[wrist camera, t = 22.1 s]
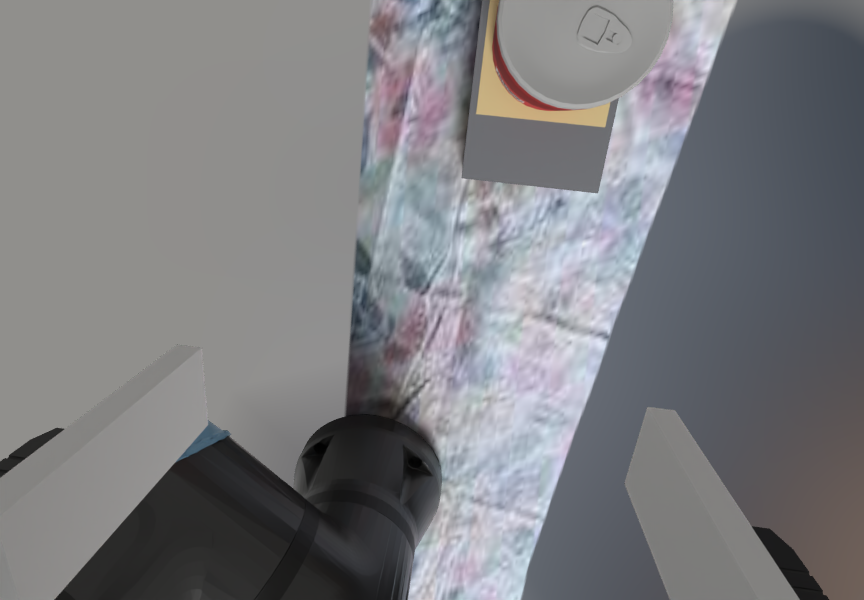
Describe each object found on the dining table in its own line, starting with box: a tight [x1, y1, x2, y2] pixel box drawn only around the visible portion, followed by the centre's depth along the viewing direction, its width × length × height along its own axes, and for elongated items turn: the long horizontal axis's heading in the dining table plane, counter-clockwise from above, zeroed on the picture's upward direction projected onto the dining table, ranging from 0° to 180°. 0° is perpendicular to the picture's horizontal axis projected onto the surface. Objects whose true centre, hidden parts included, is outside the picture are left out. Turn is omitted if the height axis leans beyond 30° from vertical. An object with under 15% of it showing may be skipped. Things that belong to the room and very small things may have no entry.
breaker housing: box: [462, 0, 619, 193], centre depth 33 cm, size 24×10×5 cm, turn 174°
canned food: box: [492, 0, 673, 111], centre depth 27 cm, size 8×8×11 cm
